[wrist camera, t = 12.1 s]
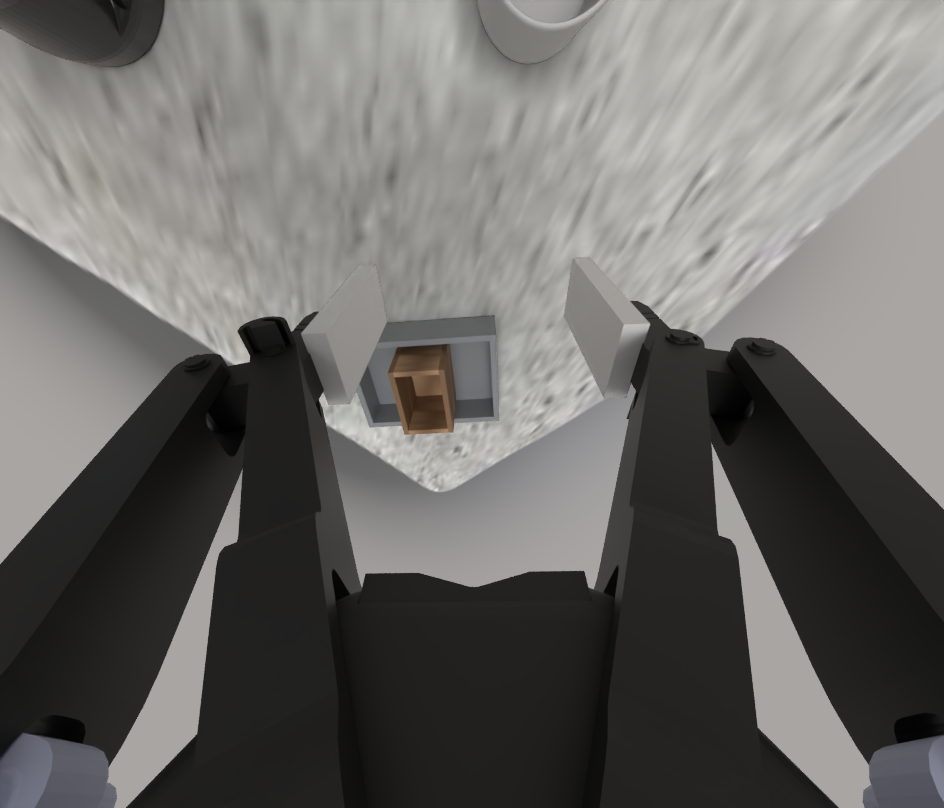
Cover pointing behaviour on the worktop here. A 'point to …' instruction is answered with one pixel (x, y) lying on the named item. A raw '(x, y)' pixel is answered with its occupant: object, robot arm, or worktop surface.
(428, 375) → the walnut crate
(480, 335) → the grey crate
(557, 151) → the worktop surface
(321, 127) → the worktop surface
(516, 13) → the mug
